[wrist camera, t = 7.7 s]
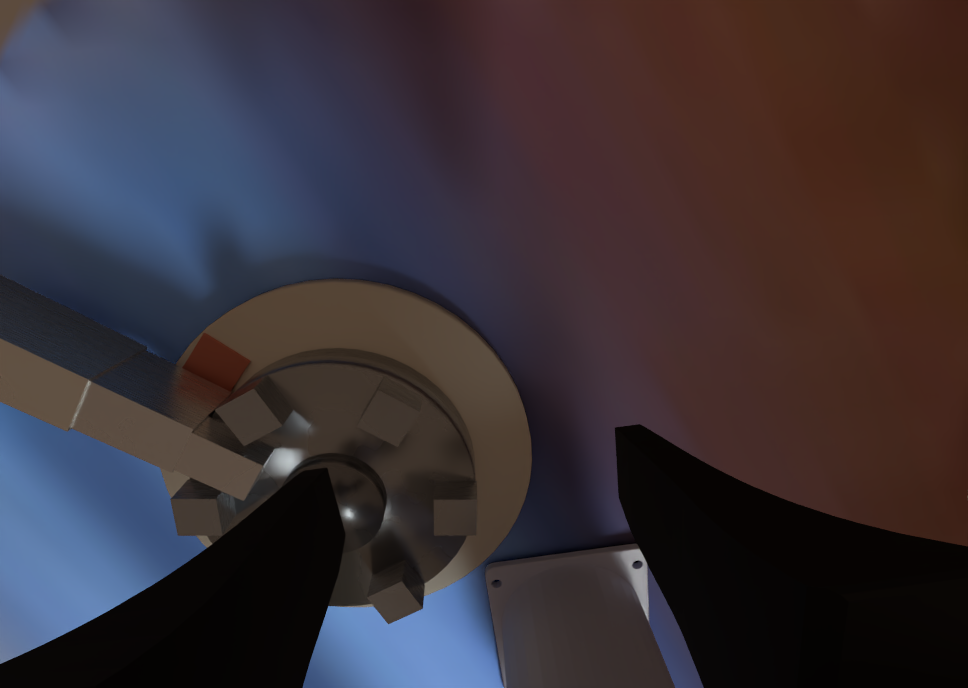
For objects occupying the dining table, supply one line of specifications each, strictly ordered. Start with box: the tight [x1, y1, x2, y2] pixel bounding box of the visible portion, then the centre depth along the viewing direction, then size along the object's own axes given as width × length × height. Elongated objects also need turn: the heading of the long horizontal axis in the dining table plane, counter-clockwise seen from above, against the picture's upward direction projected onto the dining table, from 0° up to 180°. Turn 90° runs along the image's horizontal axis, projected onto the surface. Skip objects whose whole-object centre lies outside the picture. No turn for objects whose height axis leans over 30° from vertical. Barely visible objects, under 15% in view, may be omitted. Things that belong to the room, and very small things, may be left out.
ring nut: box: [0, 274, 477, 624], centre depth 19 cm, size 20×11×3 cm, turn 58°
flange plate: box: [160, 278, 532, 607], centre depth 22 cm, size 16×16×1 cm
